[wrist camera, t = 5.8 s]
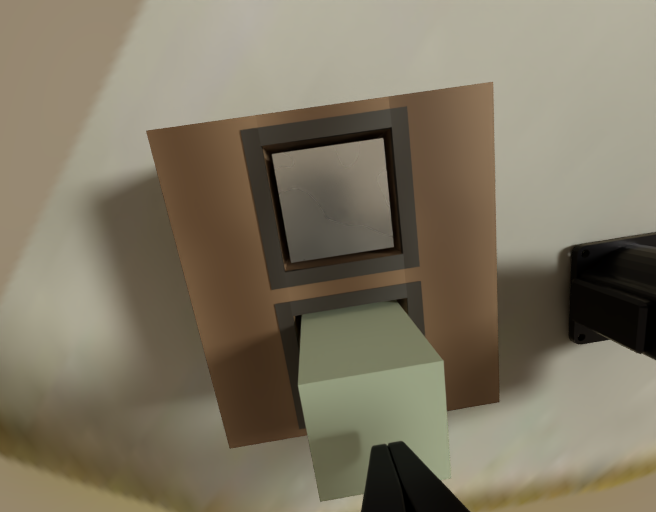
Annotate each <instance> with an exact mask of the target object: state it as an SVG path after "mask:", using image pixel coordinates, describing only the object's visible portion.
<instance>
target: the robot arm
mask: <svg viewBox="0 0 656 512" xmlns="http://www.w3.org/2000/svg"><path fill="white" fill-rule="evenodd" d="M583 251H584V253H583V255H581V254H582V252H583ZM578 336H579V337H578ZM569 339H570V340H571V341H573V342H575V343H576V344H587V343H593V342H599V341H605V340H612V341H614V342H616V343H618V344H620V345H622V346H624V347H626V348H628V349H630V350H632V351H634V352H636V353H639V354H644V355H646V356H648V357H650V358H652V359H654V360H656V232H654V233H648V234H642V235H635V236H629V237H623V238H616V239H610V240H604V241H598V242H591V243H585V244H579V245H577V246H576V247H574V249H573V250H572V261H571V288H570V314H569ZM361 512H470V511H469V510H468V509H467V508H466V507H465V506H464V505H463V504H462V503H461V502H460V501H459V499H458V498H457V497H456V496H455V495H454V494H453V493H452V492H451V491H450V490H449V489H448V488H447V487H446V486H445V485H444V484H443V483H442V481H441V480H440V479H439V478H438V477H437V476H436V475H435V474H434V473H433V472H432V471H431V470H430V469H429V468H428V467H427V466H426V465H425V464H424V462H423V461H422V460H421V459H420V458H419V457H418V456H417V455H416V454H415V453H414V452H413V451H412V450H411V449H410V448H409V447H408V446H407V445H406V443H405V442H403V441H396V442H390V443H389V444H388V446H387V444H379V445H373V446H372V447H371V452H370V458H369V465H368V471H367V478H366V484H365V490H364V497H363V503H362V510H361Z"/></svg>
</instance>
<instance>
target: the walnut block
mask: <svg viewBox="0 0 656 512" xmlns="http://www.w3.org/2000/svg"><path fill="white" fill-rule="evenodd" d="M146 132H147V136H148V140H149V143H150V147H151V151H152V155H153V159H154V162H155V166H156V170H157V174H158V178H159V181H160V185H161V189H162V193H163V197H164V200H165V204H166V208H167V212H168V216H169V219H170V223H171V227H172V231H173V235H174V239H175V242H176V246H177V250H178V254H179V258H180V261H181V265H182V269H183V273H184V277H185V280H186V284H187V288H188V292H189V296H190V299H191V303H192V307H193V311H194V315H195V318H196V322H197V326H198V330H199V334H200V337H201V341H202V345H203V349H204V353H205V356H206V360H207V364H208V368H209V372H210V375H211V379H212V383H213V387H214V391H215V394H216V398H217V402H218V406H219V410H220V413H221V417H222V421H223V425H224V429H225V432H226V436H227V440H228V444H229V448H236V447H242V446H248V445H253V444H259V443H265V442H271V441H276V440H282V439H288V438H294V437H300V436H305V435H307V430H306V425H305V420H304V414H303V409H302V404H301V399H300V393H299V388H298V375H299V356H300V338H301V319H302V315H303V314H310V313H316V312H322V311H328V310H334V309H341V308H347V307H353V306H359V305H365V304H372V303H378V302H384V301H390V300H396V301H397V302H398V303H399V305H400V306H401V307H402V308H403V310H404V311H405V312H406V313H407V315H408V316H409V317H410V319H411V320H412V321H413V322H414V324H415V325H416V326H417V328H418V329H419V330H420V331H421V333H422V334H423V335H424V336H425V338H426V339H427V340H428V342H429V343H430V344H431V345H432V347H433V348H434V349H435V351H436V352H437V353H438V354H439V356H440V357H441V358H442V359H443V361H444V376H445V392H446V407H447V411H450V410H456V409H462V408H468V407H473V406H479V405H485V404H491V403H496V402H499V354H498V304H497V253H496V203H495V153H494V102H493V82H488V83H481V84H474V85H467V86H460V87H453V88H446V89H439V90H432V91H425V92H417V93H410V94H403V95H396V96H389V97H382V98H375V99H368V100H361V101H354V102H347V103H340V104H333V105H325V106H318V107H311V108H304V109H297V110H290V111H283V112H276V113H269V114H262V115H255V116H248V117H240V118H233V119H226V120H219V121H212V122H205V123H198V124H191V125H184V126H177V127H170V128H163V129H155V130H148V131H146ZM380 138H383V140H384V151H385V161H386V171H387V181H388V192H389V202H390V212H391V222H392V232H393V243H394V247H390V248H384V249H377V250H371V251H364V252H358V253H352V254H345V255H339V256H332V257H326V258H320V259H313V260H307V261H300V262H294V263H291V259H290V253H289V248H288V242H287V237H286V231H285V225H284V220H283V214H282V209H281V203H280V197H279V192H278V186H277V180H276V175H275V169H274V164H273V158H272V154H276V153H283V152H290V151H297V150H304V149H311V148H318V147H325V146H331V145H338V144H345V143H352V142H359V141H366V140H373V139H380Z"/></svg>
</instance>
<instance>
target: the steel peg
mask: <svg viewBox="0 0 656 512" xmlns="http://www.w3.org/2000/svg"><path fill="white" fill-rule="evenodd" d="M272 158H273V164H274V169H275V175H276V180H277V186H278V192H279V197H280V203H281V209H282V214H283V220H284V225H285V231H286V237H287V242H288V248H289V253H290V259H291V263H294V262H300V261H307V260H313V259H320V258H326V257H332V256H339V255H345V254H352V253H358V252H364V251H371V250H377V249H384V248H390V247H394V243H393V232H392V222H391V212H390V202H389V192H388V181H387V171H386V161H385V151H384V140H383V138H380V139H373V140H366V141H359V142H352V143H345V144H338V145H331V146H325V147H318V148H311V149H304V150H297V151H290V152H283V153H276V154H272Z"/></svg>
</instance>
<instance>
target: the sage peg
mask: <svg viewBox="0 0 656 512" xmlns="http://www.w3.org/2000/svg"><path fill="white" fill-rule="evenodd" d="M298 388H299V393H300V399H301V404H302V409H303V414H304V420H305V425H306V430H307V435H308V441H309V446H310V451H311V456H312V461H313V467H314V472H315V477H316V482H317V488H318V493H319V498H320V502H322V501H327V500H333V499H338V498H344V497H349V496H355V495H361V494H364V490H365V484H366V478H367V471H368V465H369V458H370V452H371V447H372V446H373V445H379V444H387V446H388V444H389V443H390V442H396V441H403V442H405V443H406V445H407V446H408V447H409V448H410V449H411V450H412V451H413V452H414V453H415V454H416V455H417V456H418V457H419V458H420V459H421V460H422V461H423V462H424V464H425V465H426V466H427V467H428V468H429V469H430V470H431V471H432V472H433V473H434V474H435V475H436V476H437V477H438V478H439V479H440V480H444V479H450V478H451V468H450V452H449V437H448V422H447V407H446V392H445V376H444V361H443V359H442V358H441V357H440V356H439V354H438V353H437V352H436V351H435V349H434V348H433V347H432V345H431V344H430V343H429V342H428V340H427V339H426V338H425V336H424V335H423V334H422V333H421V331H420V330H419V329H418V328H417V326H416V325H415V324H414V322H413V321H412V320H411V319H410V317H409V316H408V315H407V313H406V312H405V311H404V310H403V308H402V307H401V306H400V305H399V303H398V302H397V301H396V300H390V301H384V302H378V303H372V304H365V305H359V306H353V307H347V308H341V309H334V310H328V311H322V312H316V313H310V314H303V315H302V319H301V338H300V356H299V375H298Z"/></svg>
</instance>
